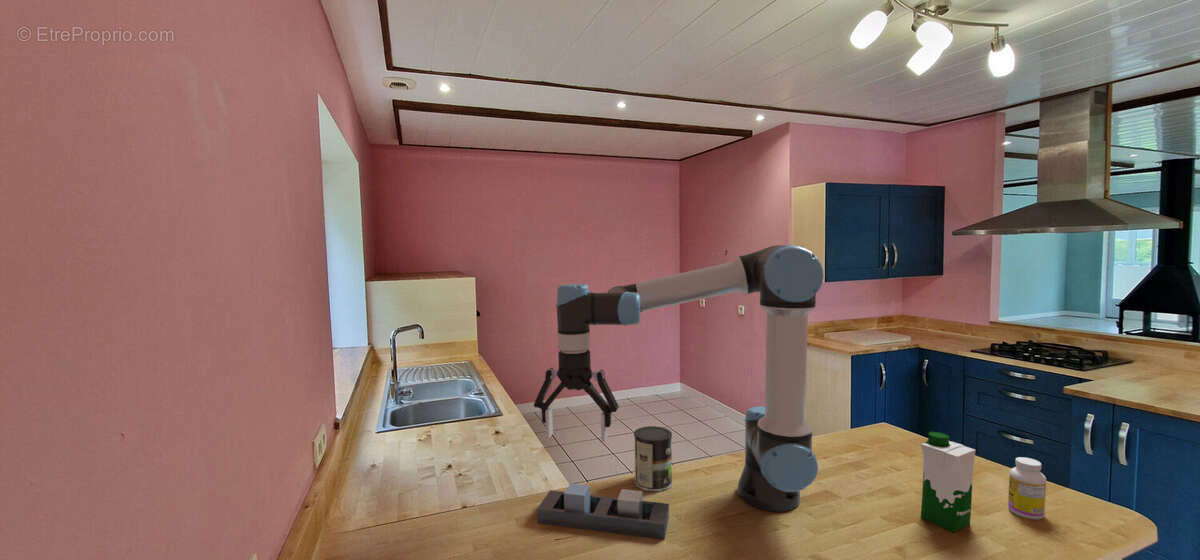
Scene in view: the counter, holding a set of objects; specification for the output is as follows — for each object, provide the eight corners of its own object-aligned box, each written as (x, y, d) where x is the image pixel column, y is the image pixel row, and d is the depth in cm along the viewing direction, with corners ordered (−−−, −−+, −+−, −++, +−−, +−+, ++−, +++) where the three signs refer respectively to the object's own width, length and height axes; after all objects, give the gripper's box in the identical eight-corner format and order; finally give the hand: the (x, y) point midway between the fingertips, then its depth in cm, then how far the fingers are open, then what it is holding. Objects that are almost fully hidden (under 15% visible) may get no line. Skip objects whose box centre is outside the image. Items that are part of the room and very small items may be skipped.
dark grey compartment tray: (668, 517, 118) (668, 503, 118) (664, 539, 110) (664, 524, 109) (550, 503, 126) (549, 490, 125) (537, 523, 117) (537, 508, 117)
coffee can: (673, 475, 140) (672, 426, 139) (670, 493, 130) (670, 441, 129) (636, 472, 142) (636, 424, 141) (631, 490, 132) (631, 438, 131)
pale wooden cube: (642, 519, 118) (642, 491, 117) (639, 531, 113) (638, 502, 112) (622, 517, 119) (621, 489, 118) (617, 528, 114) (617, 499, 114)
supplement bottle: (1009, 502, 123) (1012, 452, 122) (1045, 512, 118) (1048, 460, 117) (1005, 513, 118) (1008, 461, 117) (1043, 524, 114) (1046, 470, 113)
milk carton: (935, 507, 121) (938, 428, 120) (977, 525, 113) (981, 441, 112) (914, 516, 117) (917, 434, 116) (956, 536, 109) (960, 449, 108)
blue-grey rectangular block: (590, 513, 121) (589, 485, 120) (584, 524, 116) (584, 495, 116) (570, 510, 122) (570, 483, 122) (564, 521, 117) (563, 493, 117)
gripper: (629, 348, 117) (631, 435, 118) (530, 345, 123) (533, 428, 124) (623, 355, 109) (625, 448, 111) (518, 351, 115) (521, 440, 117)
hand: (576, 438), depth 118 cm, fingers open, 13 cm apart
